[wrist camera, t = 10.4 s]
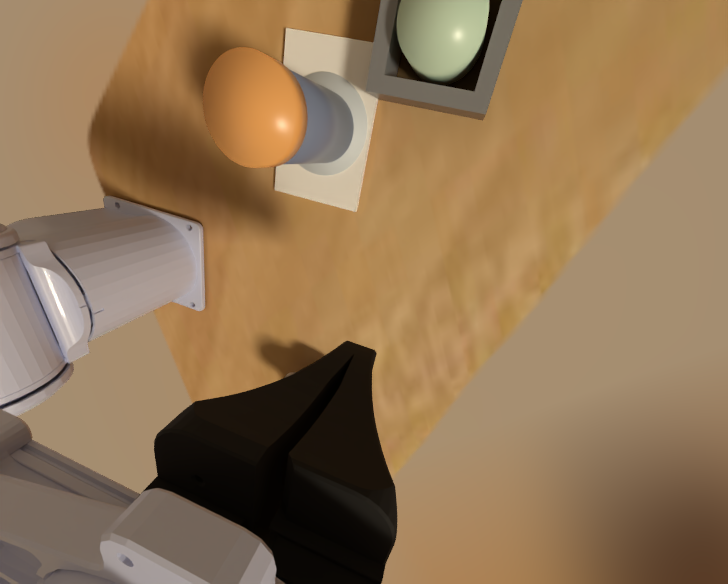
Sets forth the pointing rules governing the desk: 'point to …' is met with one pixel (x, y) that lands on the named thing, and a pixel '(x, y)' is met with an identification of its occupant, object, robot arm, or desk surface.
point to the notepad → (348, 79)
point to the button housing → (426, 94)
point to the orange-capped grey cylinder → (272, 113)
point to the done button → (442, 37)
